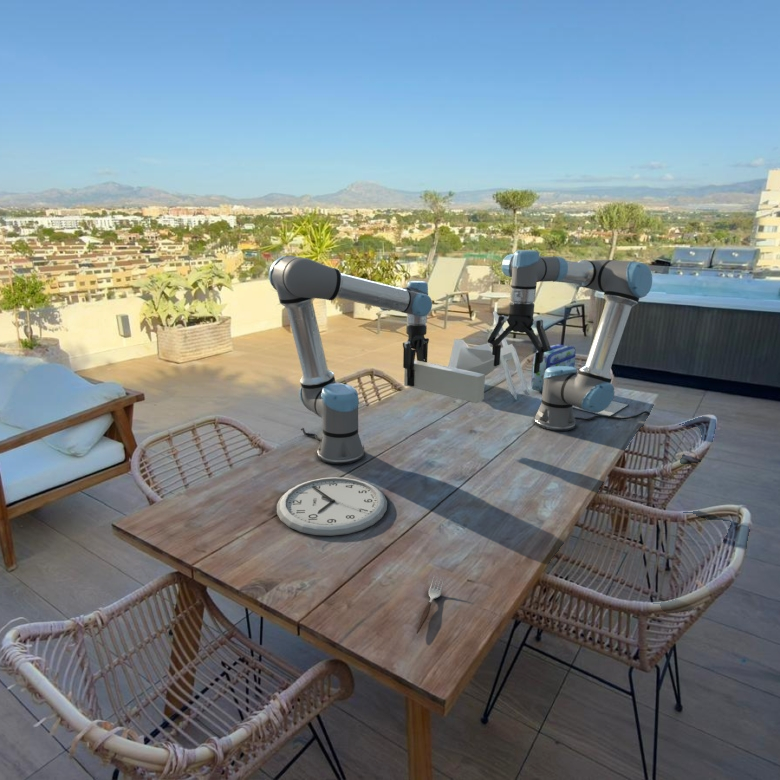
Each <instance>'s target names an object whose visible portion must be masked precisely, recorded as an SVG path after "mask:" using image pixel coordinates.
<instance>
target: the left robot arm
mask: <svg viewBox="0 0 780 780" xmlns="http://www.w3.org/2000/svg"><path fill="white" fill-rule="evenodd" d="M268 280H269V283H270V285H271V287H272V288H273V289H274V290H275V291H276V293H277V297H278V300H279V304H280V305H281V306H283V307H285V308H286V312H287V317H288V321H289V325H290V328H291V332H292V336H293V341H294V344H295V345H294V346H295V349H296V352H297V357H298V360H299V364H300V367H301V372H302V376H301V378H300V380H299V382H300V387H299V398H300V402H301V404H303V406H304V407H305V408H306V409H307V410H308V411H309V412H312V413H314V414H315V415H317V417H319V418H321V419H322V420H321V421H322V435H321V438H319V437H318V435H317V434H315V433H309V432H306V430H305V428H304V427H301V428H300V431H302V433H303V434H304V435H305V436H310V437H314V438H315V440H316V441H319V444H318V448H317V458H318V459H319V460H320V461H321V462H323V463H325V464H329V465H337V466H341V465H350V464H354V463H357V462H359V461H361V460H362V459H363V458H364V456H365V446H364V444H362V440H361V438H360V437H361V436H360V434H359V404H360V399H359V393H358V390H357V389H356V388H355V387H354V386H352V385H350V384H344V383H341V382H337V381H336V378H335V373H334V372H333V371H332V370H330V369H329V368H328V364H327V358H326V354H325V350H324V346H323V341H322V337H321V333H320V329H319V325H318V324H319V323H318V320H317V315H316V311H315V307H314V300H315V299H319V300H326V301H334V300H336V299H338V300H343V301H347V302H352V303H357V304H362V305H366V306H370V307H376V308H379V309H380V310H381V311H383V312H384V311H386V312H387V311H388V312H390V311H394V312H398V313H402V314H406V326H405V327H406V329H405V330H406V331H405V333H406V335H407V336H408V338H407V340H406V342H403V343H402V348H403V351H402V353H403V354H402V355H403V356H402V357H403V358H402V359H403V360H402V363H403V364H402V368H403V369H404V370H405V369H407V385H409V386H414V369H413V366H414V360H418V361H422V362H427V363H428V350H429V349H428V348H429V342H430V339H429V338H428V337H425V336H426V335H427V330H428V329H427V328H428V327H427V323H428V315H429V314H430V313H431V311H432V308H433V301H432V298H431V297H430V296H429V285H428V282H426V281H425V280H424V281H422V280H410V281H408V282H407V285H406V287H398V286H397V287H396V286H393V285H389V284H385V283H382V282H377V281H373V280H370V279H366V278H362V277H357V276H352V275H349V274H346V273H342V272H341V270H340V269H339V268H335V267H332V266H328V265H326V264H323V263H321V262H318V261H316V260H313V259H311V258H307V257H300V256H296V255H284V256H281V257H279V258H277V259H276V260H274V261H273V262H272V264H271V265H270V267H269V271H268ZM409 386H408V387H409Z"/></svg>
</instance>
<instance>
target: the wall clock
mask: <svg viewBox="0 0 780 780" xmlns="http://www.w3.org/2000/svg"><path fill="white" fill-rule="evenodd" d="M387 509H388V500H387V498H386V496H385V494H384V493H383V492H382V491H381V490H380V489H379V488H377V487H376V486H374V485H372V484H371V483H369V482H365V481H362V480H359V479H355V478H349V477H338V476H337V477H335V476H333V477H332V476H331V477H322V478H317V479H312V480H307V481H305V482H302V483H299V484H297V485H295V486H293V487H292V488H290V489H288V490H287V491H286V492H285V493H284V494H283V495H281V496H280V498H279V499H278V502H277V503H276V515H277V517H278V518H279V520H280V521H281V522H282V523H283V524H285V525H286V526H287V527H288V528H290V529H293V530H295V531H297V532H299V533H303V534H308V535H312V536H327V537H328V536H329V537H331V536H332V537H333V536H342V535H350V534H352V533H356V532H361V531H363V530H366V529H368V528H369V527H372V526H373V525H375V524H376V523H378V522H379V521H380V520H381V519H382V518H383V517H384V516H385V514H386V512H387Z"/></svg>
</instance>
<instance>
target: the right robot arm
mask: <svg viewBox="0 0 780 780" xmlns="http://www.w3.org/2000/svg"><path fill="white" fill-rule="evenodd" d="M501 271H502V273H503V275H504V276H506V277H508V278H511V281H510V282H511V283H510V295H509V301H510V302H509V305H508V316H506V315H504V314H502V315H498V316H499V319H498V323H497V325H496V324H495V326H494V328H493V330H492V332H491V333H490V336H489V337H488V339H487V340H486V342H487V343H488V344H491V345H492V355H494V366H498V365H499V363H500V351H501V348H502V344H500V343H502V340H503V339H504V338H505V337H506V338H507V337H508V336H509V334H511V332H513V333H521V334H525V335H526V336H527V337H528V338H529V340H530V341H531V343H532V344H533V346H534V348H535V349H536V352H535V353H534V356H535V364H534V373H538V372H539V369H540V363H542V362H543V359H544V352H547V351H550V350H551V347H550V346H551V345H550V342H549V339H548V337H547V334H546V331H545V328H544V320H543V319H539V320H535V319H534V313H535V303H534V302H536V293H537V283H541V282H542V283H543V282H552V283H554V282H555V283H556V282H557V283H565V284H573V285H574V286H576V287H579V288H585V289H589V290H593V291H596V292H600V293H603V298H604V301H605V304H604V307H603V310H602V313H601V315H600V319H599V322H598V325H597V328H596V331H595V334H594V337H593V340H592V343H591V345H590V349H589V352H588V354H587V358H586V361H585V364H584V366H582V367H580V368H579V369H577V367H575V366H574V367H569V366H555V367H549V368H547V369H546V370H545V374H544V378H543V379H544V380H543V390H542V391H541V402H540V405H539V407H538V410H537V411H536V413H535V416H534V424H535V425H536V426H537V427H539V428H542V429H544V430H549V431H556V432H567V431H572V430H574V429H575V428H576V420H579V421H592V420H594V419H596V418H608V419H614V420H630V419H634V418H637V417H640V416H642V415H645V414H647V415H649V416H650V415H651V413H650V412H649V411H647V410H645V411H644V410H643V411H642V412H640V413H638V414H635V415H631V416H624V417H623V416H621V417H620V416H614V415H611V416H608V415H600V414H596V413H597V412H601V411H603V410H604V409H606V408H607V407H608V406H609V405H610V403H611V401H614V397H615V387H614V385H613V384H612V380H613V377H612V376H611V374H610V372H611V369H612V365H613V363H614V360H615V357H616V354H617V351H618V348H619V345H620V342H621V341H622V340H621V339H622V337H623V334H624V330H625V327H626V325H627V321H628V319H629V316H630V313H631V310H632V308H633V307H634V306H637V305H638V304H639V302H640V299H642V298H645V297H646V296H648V294H649V293H650V291H651V290H652V285H653V274H652V270H651V268H650V266H649V265H648V264H646V263H644V262H640V261H635V260H631V261H630V260H614V259H598V260H593V259H592V260H589V259H588V260H587V259H581V260H579V261H572V260H566V259H565V258H564V257H563V256H554V255H553V256H543V255H540V252H539V250H528V249H527V250H525V249H524V250H522V249H520V250H515V252H514V253H512V254H511V253H509V254H507V255H506V256H505V257H504V258H503V259H502V262H501ZM506 322H507V324H508V325H507V327H506V328H505V329H504V330H503V331H504V332H503V333H502V334H501V335H499V331H500V330H501V328H502V327H504V324H506ZM532 326H534V327H535V328H536V332H537V334H536V333H535V330H534V329H533V327H532ZM537 335H538V336H537ZM538 337H539V338H538ZM537 351H538V352H537ZM574 407H579V408H581V409H583V410H582V411H584V410H585V411H584V412H588V411H590V412H589V413H592V412H594V413H593V414H596V415H593V416H592V417H588V418H587V417H580V416H579V417H577V416H575V413H574Z"/></svg>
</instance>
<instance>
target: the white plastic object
mask: <svg viewBox="0 0 780 780" xmlns="http://www.w3.org/2000/svg"><path fill="white" fill-rule="evenodd" d="M492 315H493V319H494V321H495V326H496V325H497V323H498V319H499V316H500V315H499V314H498V312H497V311H496V310H495V311H492ZM503 327H504V326H502V328H501V330H500V331H499V333H498V336H500V335H501V334H502V333H503V332H504V331H505V330H504V328H503ZM501 346H502V347H501V351H500V363H499V365H498V366H494V355H492V349H493V347H491V346H490V343H488V342H487V343H483V344H479V345H473V346H469V345H468V343H466V342H465V340H464V339H463V338H460V339H458V338H454V340H453V344H452V349H451V353H450V357H449V362H448V366H447V367H452V368H457V369H462V370H467V371H471V372H476V373H481V374H485V377H486V376H487V375H489V374H490V373H492V372H494V371H495V370H496V369H497V368H499V367H500V366H502V370H503V373H504V376H505V380H506V383H507V386H508V390H509V393H510V394H511V395H512V397H513V398H514V399H515V400H517V392H516V391H517V390H516V388H515V385H514V381H513V378H512V375H511V371H510V369H509V365H508V361H510V360H513V363H514V366H515V369H516V372H517V376H518V380H519V382H520V385H521V389H522V391H523V393H524V395H525V396H526V397H528V396H531V395H530V390H529V388H528V387H529V386H528V384H527V381H526V378H525V375H524V371H523V369H522V368H523V367H522V366H521V362H520V359H519V355H518V352H517V349H516V347H515V346H514V345H513V343H511V344H508V341H507V336H506V337H505V338H504V339H503V340H502V341H501Z"/></svg>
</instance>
